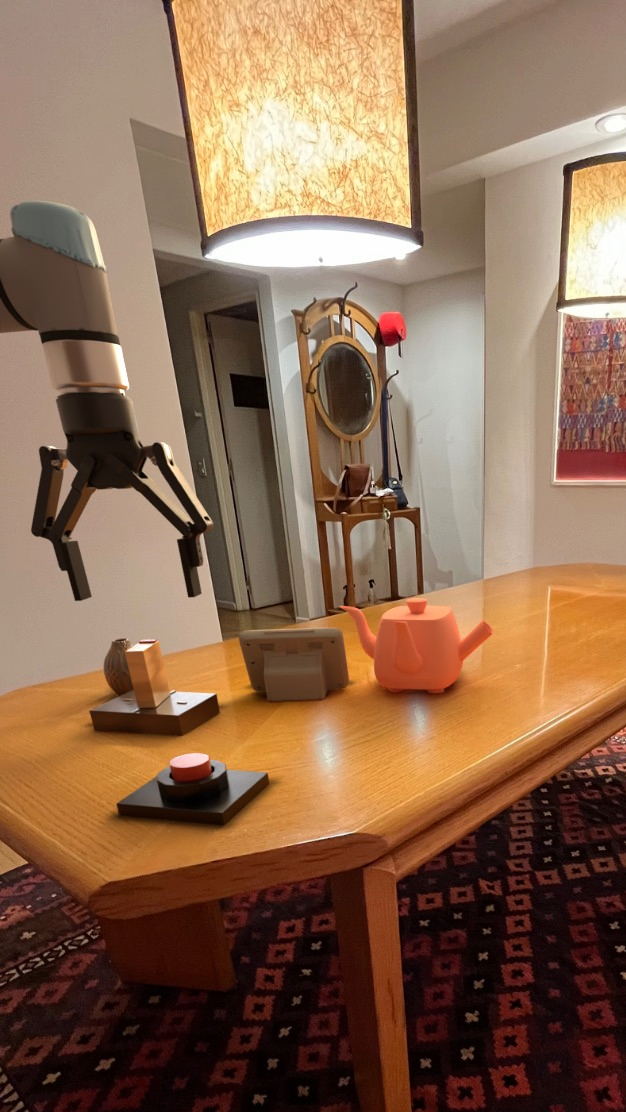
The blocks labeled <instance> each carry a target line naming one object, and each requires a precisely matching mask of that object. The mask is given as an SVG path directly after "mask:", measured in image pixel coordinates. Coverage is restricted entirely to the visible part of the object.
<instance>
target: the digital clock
mask: <svg viewBox="0 0 626 1112" xmlns="http://www.w3.org/2000/svg"><path fill="white" fill-rule="evenodd" d="M238 642H239V646H240V649H241V654H242V656H243V661H244V664H245V669H246V672H247V675H248V679H249V683H250V687H251V689H252V690H253V691H255V692H258V693H265V694H266V699H267V702H288V701H289V702H290V701H316V700H317V701H319V700H324V699H325V697H326V696H327V693H328V691H329V690H342V689H345V688H347V687H348V686H349V684H350V676H349V669H348V661H347V655H346V648H345V647H346V646H345V639H344V634H343V631H342V630H341V628H338V627H337V628H336V627H307V628H305V627H304V628H275V629H251V630H250V629H249V630H244V631H240V632H239V634H238Z"/></svg>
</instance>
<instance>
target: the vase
mask: <svg viewBox="0 0 626 1112" xmlns="http://www.w3.org/2000/svg"><path fill="white" fill-rule="evenodd" d="M133 646H134V645H133V643H132V642H131V641H130V640H129V639H128V638H126V637H125V638H115V639H112V640H111V643H110V647H109V650H108V651H107V653H106V655H105V658H104V659H103V660H104V661H103V675H104V678H105V680H106V683H107V685H108V686H109V688H110V689H111V690H112V691H113V692H114V693H115V694H117V695H119V696H121V695H123V694H126V693H128V692H130V691H132V690H134V689H133V684H132V680H131V676H130V672H129V668H128V664H127V659H126V655H125V651H127V650H128V649H130V648H131V647H133Z"/></svg>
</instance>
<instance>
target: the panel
mask: <svg viewBox="0 0 626 1112" xmlns="http://www.w3.org/2000/svg"><path fill="white" fill-rule="evenodd" d="M169 691H170V690H169ZM88 712H89V715H90V718H91V722H92V726H93V730H94V731H95V732H97V731H98V732H114V733H128V734H129V733H130V734H147V735H149V734H150V735H162V736H163V735H164V736H177V737H178V736H180V737H184V736H185V735H187V734H188V733H190V732H192V731H193V730H195V729H197V728H198V727H200V726H201V725H202V724H204V723H206V722H208V721H209V720H211V719H212V718H214V717H215V716H218V714H220V713H221V709H220V705H219V698H218V694H217V693H213V692H192V691H177V690H176V689H173V690H171V691H170V695H169V696H168V697H167V698H166V699H165V700H164V701H162V702H161V703H160V704H159V705H158V706H157V707H156V708H138V705H137V701H136V697H135V693H134V690H132V691H130V692H128V693H126V694H123V695H119V696H117V697H115V698H113V699H111V700H108V701H106V702H104V703H102V704H100V705H98V706H96V707H94V708H92V709H89V710H88Z"/></svg>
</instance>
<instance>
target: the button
mask: <svg viewBox="0 0 626 1112" xmlns="http://www.w3.org/2000/svg"><path fill="white" fill-rule="evenodd" d="M210 760H211V758H210V756H209V755H208V754H206V753H201V752H191V753H185V754H181V755H178V756H176V757H173V758H172V759H170V760H169V766H170V769H171V774H172V778H173V780H174V781H191V780H198V779H201V778H204V777H207V776H209V775H210V774H212V768H211V763H210Z"/></svg>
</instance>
